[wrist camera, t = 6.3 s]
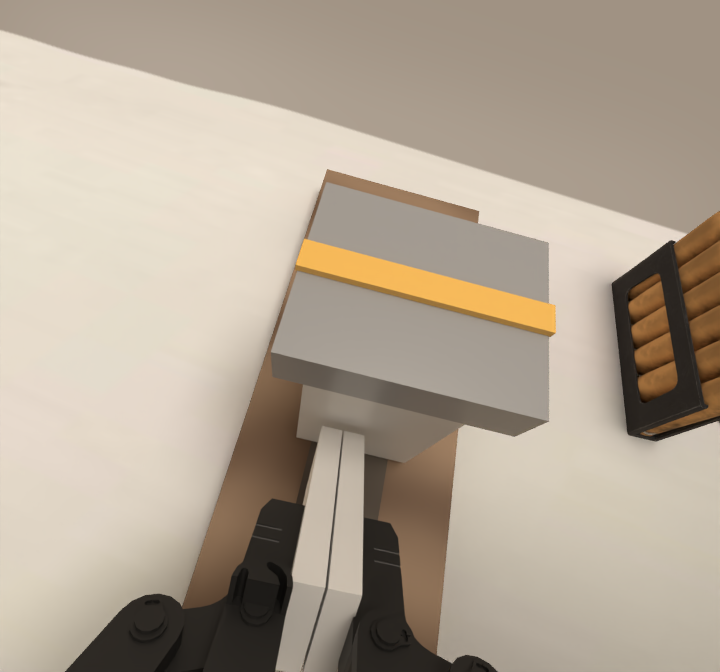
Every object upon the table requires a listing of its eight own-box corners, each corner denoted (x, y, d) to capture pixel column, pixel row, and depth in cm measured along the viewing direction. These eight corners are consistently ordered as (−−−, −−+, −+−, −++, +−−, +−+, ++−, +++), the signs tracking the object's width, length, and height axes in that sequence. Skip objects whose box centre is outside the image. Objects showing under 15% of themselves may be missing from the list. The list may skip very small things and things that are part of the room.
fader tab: (418, 480, 19) (556, 419, 9) (276, 446, 19) (268, 347, 9) (432, 374, 21) (554, 238, 12) (306, 342, 21) (325, 175, 11)
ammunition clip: (610, 283, 30) (796, 136, 19) (635, 289, 30) (834, 147, 19) (626, 435, 25) (888, 354, 14) (656, 442, 25) (938, 367, 14)
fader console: (420, 656, 18) (436, 669, 17) (189, 607, 18) (178, 615, 16) (467, 231, 29) (479, 209, 27) (324, 192, 29) (327, 167, 27)
